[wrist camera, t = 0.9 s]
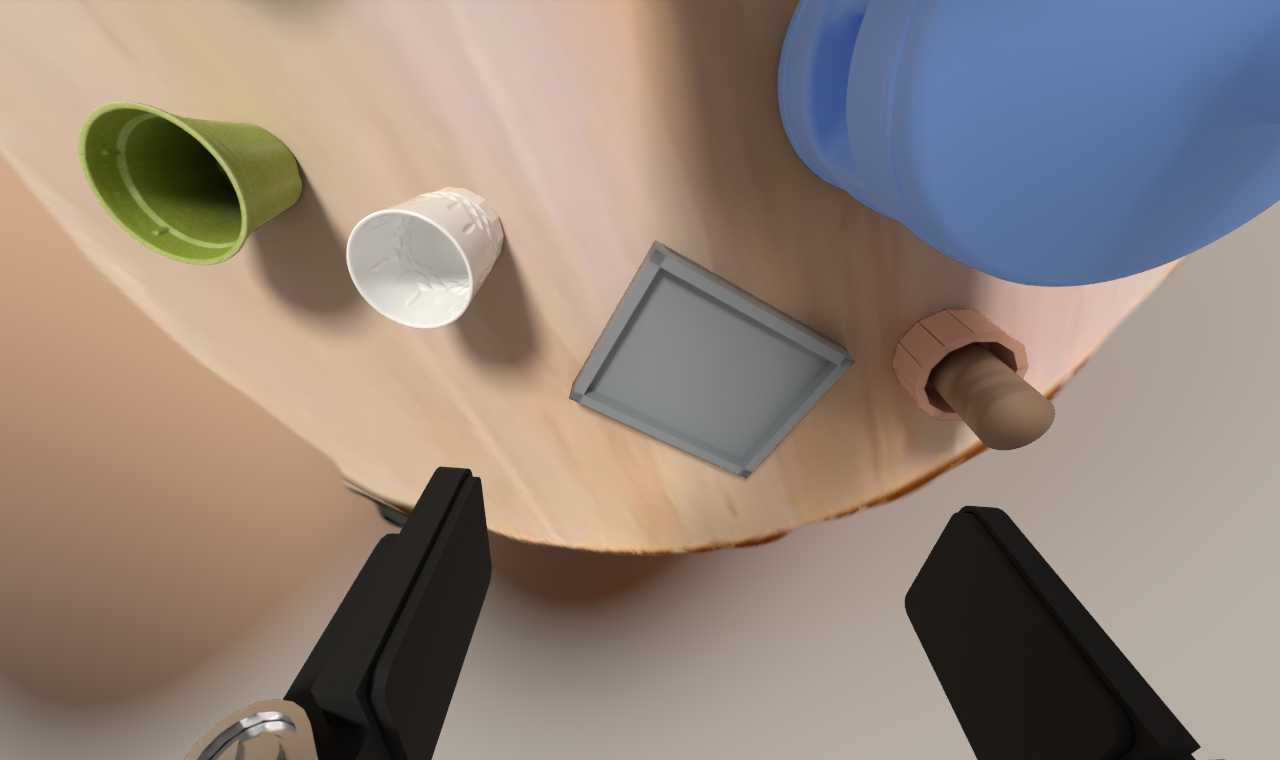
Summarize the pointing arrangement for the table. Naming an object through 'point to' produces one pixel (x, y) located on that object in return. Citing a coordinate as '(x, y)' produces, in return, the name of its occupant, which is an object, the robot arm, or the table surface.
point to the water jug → (1042, 124)
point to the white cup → (425, 256)
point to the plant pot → (185, 179)
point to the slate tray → (706, 364)
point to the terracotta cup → (940, 338)
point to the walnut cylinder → (991, 398)
